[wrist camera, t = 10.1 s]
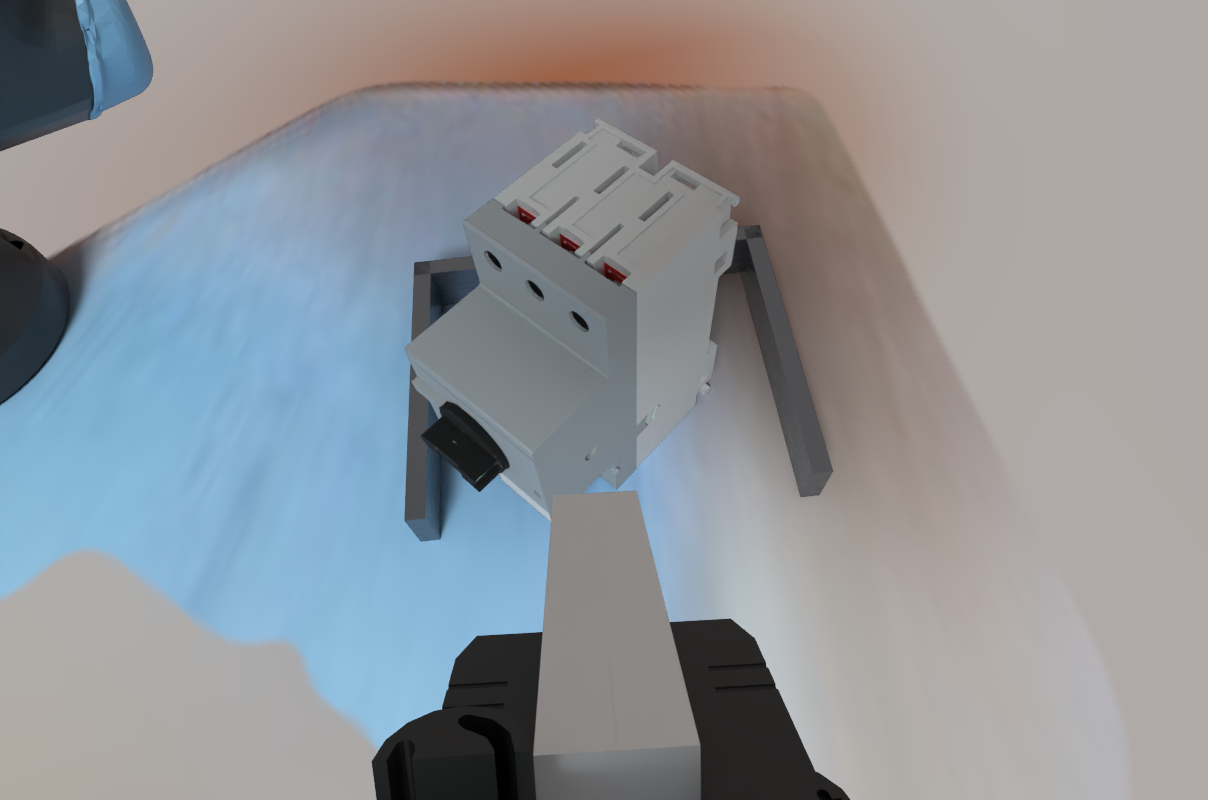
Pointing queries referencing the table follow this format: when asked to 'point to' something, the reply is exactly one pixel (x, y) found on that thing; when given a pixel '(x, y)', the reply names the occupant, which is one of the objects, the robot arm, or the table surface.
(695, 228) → the circuit breaker
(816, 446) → the lockout stall
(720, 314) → the table surface
